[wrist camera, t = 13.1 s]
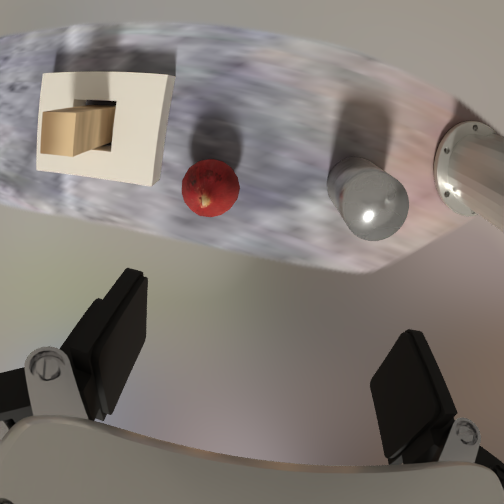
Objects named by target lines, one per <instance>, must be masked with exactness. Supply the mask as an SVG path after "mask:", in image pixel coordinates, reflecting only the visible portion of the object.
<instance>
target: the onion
mask: <svg viewBox="0 0 504 504" xmlns="http://www.w3.org/2000/svg"><path fill="white" fill-rule="evenodd" d="M239 189H240V186H239V182H238V177H237V176H236V174H235V172H234V171H233V169H232V168H231V167H230V166H228V165H227V164H226V163H224V162H222V161H219V160H215V159H208V160H201V161H199V162H197V163H196V164H194V165H193V166H191V167H190V168H189V169H188V171H187V173H186V175H185V176H184V178H183V180H182V195H183V198H184V201H185V203H186V204H187V206H188V207H189V208H190V209H191V210H192V211H193V212H195V213H196V214H198V215H199V216H206V217H214V216H218V215H222V214H223V213H225V212H226V211H228V210H229V209H230V208H231V207H232V206H233V204H234V203H235V201H236V200H237V198H238V194H239Z"/></svg>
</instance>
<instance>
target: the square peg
mask: <svg viewBox="0 0 504 504" xmlns="http://www.w3.org/2000/svg"><path fill="white" fill-rule="evenodd" d="M115 110H116V106H107V105H85V106H77V107H70V108H63V109H57V110H51V111H45V112H43V114H42V127H41V146H40V153H41V154H51V155H60V156H69V157H74V156H76V155H79V154H81V153H84V152H86V151H89V150H91V149H94V148H97V147H99V146H102V145H105V144H107V143H110V142H112V136H113V126H114V118H115Z"/></svg>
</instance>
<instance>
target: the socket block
mask: <svg viewBox="0 0 504 504" xmlns="http://www.w3.org/2000/svg"><path fill="white" fill-rule="evenodd" d="M174 82H175V76H171V75H165V74H152V73H135V72H61V73H45V74H43V79H42V87H41V95H40V105H39V117H38V133H37V170H40V171H48V172H56V173H64V174H71V175H79V176H86V177H93V178H100V179H107V180H113V181H120V182H126V183H133V184H139V185H145V186H151V187H152V186H153V185H154V184H155V183H156V182H158V181H159V180H160V174H161V166H162V158H163V151H164V143H165V136H166V129H167V123H168V117H169V111H170V105H171V99H172V93H173V88H174ZM86 100H107V101H117V102H116V110H115V118H114V126H113V136H112V146H107V145H102V146H99V147H97V148H94V149H91V150H89V151H86V152H84V153H81V154H79V155H76V156H74V157H69V156H60V155H51V154H41V153H40V146H41V127H42V114H43V112H45V111H51V110H57V109H63V108H70V107H77V106H85V105H86Z"/></svg>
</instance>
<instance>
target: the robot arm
mask: <svg viewBox="0 0 504 504" xmlns="http://www.w3.org/2000/svg"><path fill="white" fill-rule="evenodd" d="M444 149H445V150H444ZM434 180H435V185H436V189H437V191H438V194H439V196H440V198H441V199H442V201H443V202H444V204H445V205H446V206H447V207H448V208H449V209H451V210H452V211H454V212H455V213H457V214H459V215H462V216H476V215H480V216H481V217H483V218H484V219H485V220H487V221H488V222H490V223H491V224H492V225H494V226H495V227H496V228H498V229H499V230H500V231H502V232H503V233H504V137H502V136H499V135H497V133H496V132H495V131H494V130H493V129H492V128H491V127H489V126H488V125H486V124H484V123H481V122H477V121H465V122H461V123H459V124H457V125H455V126H454V127H453V128H451V129H450V130H449V131H448V132H447V133H446V135H445V136H444V137H443V139H442V141H441V142H440V144H439V147H438V150H437V152H436V157H435V161H434ZM147 287H148V278H147V277H144V276H143V272H141V271H138V270H134V269H130V268H126V269H125V271H124V272H123V273H122V275H121V276H120V277H119V278H118V280H117V281H116V283H115V284H114V285H113V286H112V288H111V289H110V291H109V292H108V293H107V294H106V296H105V297H104V299H103V300H102V299H99V298H98V299H96V300H95V301H94V302H93V303H92V305H91V306H90V307H89V308H88V310H87V311H86V312H85V314H84V315H83V317H82V318H81V319H80V321H79V322H78V323H77V325H76V326H75V328H74V329H73V330H72V332H71V333H70V335H69V336H68V338H67V339H66V341H65V342H64V343H63V345H62V346H61V348H60V349H58V348H54V347H41V348H39V349H36V350H34V351H33V352H31V353H30V355H29V356H28V357H27V359H26V361H25V367H24V368H19V369H15V370H11V371H7V372H3V373H0V504H504V464H503V463H502V462H501V461H500V460H498V459H497V458H496V457H494V456H493V455H492V454H490V453H489V452H488V451H487V450H485V449H483V447H481V446H480V441H481V436H480V431H479V429H478V427H477V426H476V425H475V424H474V423H473V422H472V421H471V420H469V419H467V418H458V419H457V420H454V416H455V415H456V414H457V410H456V408H455V406H454V403H453V400H452V398H451V395H450V393H449V390H448V388H447V386H446V383H445V381H444V379H443V376H442V374H441V372H440V369H439V367H438V365H437V363H436V360H435V358H434V356H433V354H432V352H431V349H430V347H429V345H428V343H427V341H426V339H425V337H424V335H423V333H422V332H420V331H416V330H410V329H408V330H406V331H405V332H403V333H402V334H401V335H400V336H399V338H398V340H397V341H396V343H395V344H394V346H393V347H392V349H391V351H390V352H389V354H388V355H387V357H386V358H385V360H384V361H383V363H382V364H381V366H380V367H379V369H378V370H377V372H376V373H375V375H374V376H373V377H372V379H371V382H370V388H371V393H372V397H373V401H374V406H375V410H376V415H377V420H378V425H379V430H380V435H381V440H382V445H383V450H384V455H385V457H386V458H388V463H389V465H382V466H328V465H327V466H325V465H308V464H294V463H284V462H274V461H266V460H258V459H251V458H244V457H238V456H231V455H226V454H220V453H215V452H210V451H205V450H200V449H196V448H191V447H187V446H183V445H178V444H175V443H171V442H166V441H163V440H159V439H155V438H151V437H148V436H144V435H141V434H137V433H134V432H131V431H128V430H124V429H121V428H117V427H114V426H110V425H107V424H104V423H100V422H96V421H94V420H95V418H96V419H99V420H102V421H104V419H105V417H106V415H107V414H109V415H111V414H112V413H113V411H114V409H115V406H116V404H117V402H118V399H119V397H120V395H121V393H122V390H123V388H124V386H125V383H126V381H127V379H128V377H129V374H130V372H131V370H132V368H133V366H134V364H135V361H136V359H137V357H138V355H139V353H140V351H141V348H142V347H143V344H144V342H145V338H146V317H147ZM402 463H403V464H402Z"/></svg>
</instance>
